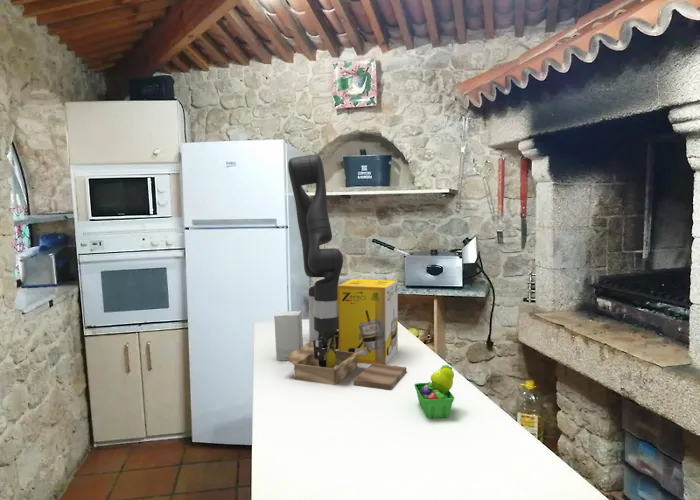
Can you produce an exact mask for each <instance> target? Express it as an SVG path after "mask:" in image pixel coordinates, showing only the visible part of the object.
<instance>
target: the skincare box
mask: <svg viewBox="0 0 700 500" xmlns="http://www.w3.org/2000/svg"><path fill="white" fill-rule="evenodd" d="M273 318H274V319H273V320H274V335H275V338H274V339H275V352H276V353H275V354H276V361H288V362H290V361H289V360H287V359H286V358H285V356H286V355H288V354H289V353H291V352H293V351H295V350H297V349H298V348H300V347H302V346H304V339H303V338H304V337H303V319H302V318H303V317H302V311H301V310H292V311H291V310H289V311H288V310H287V311H286V310H284V311H283V310H282V311H277V313H275V315H274V317H273Z"/></svg>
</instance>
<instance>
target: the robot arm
mask: <svg viewBox="0 0 700 500" xmlns="http://www.w3.org/2000/svg"><path fill="white" fill-rule="evenodd" d="M287 167H288V175H289V179H290V184H291V189H292V193H293V197H294V198H293V199H294V203H295V209H296V219H297V224H298V225H297V226H298V230H299V235H300V241H301V247H302V256H303V257H302V258H303V266H304V267H303V268H304V273H305V275H306V276H307V277H308V278H322V279H319V280H317V281H315V282H314V285H312V286H310V287H309V288H308V323H309V324H308V325H309V326H308V328H309V329H308V331H309V333H308V334H309V335H308V336H309V342H311V341H312V342H313V346H314V358H315V359H318V360H319V364H318V367H326V356H327V353H328V352H329V348H330V349H332V350H333V351H334V353H336V351H338V347H339V331H338V329H339V306H338V285H339V281H340V276H341V272H342V269H343V264H344V256H343V254H342V251H341V250H340V249H339V248H335V247H333V248H320V246H322V245H325V244H328V243H330V242H331V241H332V239H333V232H332V229H331V227H332V226H331V223H330V219H329V213H328V210H329V209H328V198H327V196H328V195H327V188H326V178H325V170H324V164H323V160H322V158H321V157H320V155H319V154H308V155H302V156H295V157H291V158H290V159H289V160H288V164H287ZM313 184H315V192H314V195H313V199H312V198H311V197H310V195H308V194H307V193H306V191H305V188H304V187H303V186H307V185H308V186H309V185H313ZM324 348H326V349H324ZM317 352H318V355H317ZM323 352H324V356H323Z"/></svg>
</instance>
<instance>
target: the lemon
mask: <svg viewBox="0 0 700 500" xmlns="http://www.w3.org/2000/svg"><path fill="white" fill-rule="evenodd" d="M323 349H326V348H323ZM323 356H324V352H323ZM335 364H336V356H335V353H334V351H333V350H332V349H330V348H329V352H328V353H327V356H326V368H335V367H336V365H335ZM318 365H319V360H318Z"/></svg>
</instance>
